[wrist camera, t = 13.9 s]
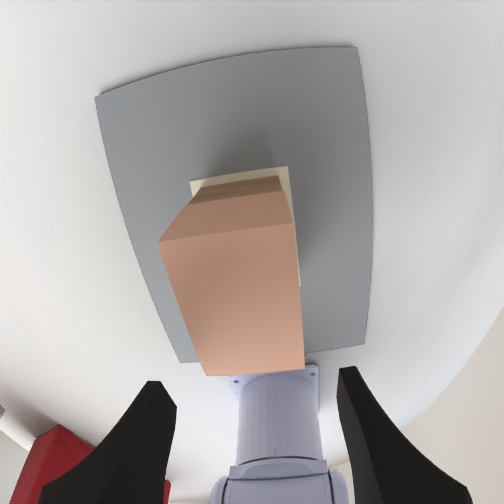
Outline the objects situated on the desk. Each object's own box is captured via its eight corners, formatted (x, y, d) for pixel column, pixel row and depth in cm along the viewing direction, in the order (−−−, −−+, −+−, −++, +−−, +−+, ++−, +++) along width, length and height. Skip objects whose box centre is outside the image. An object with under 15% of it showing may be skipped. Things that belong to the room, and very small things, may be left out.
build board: (362, 339, 23) (364, 344, 22) (181, 357, 25) (179, 363, 24) (353, 49, 13) (357, 46, 13) (98, 97, 15) (93, 97, 14)
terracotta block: (297, 314, 16) (305, 368, 12) (216, 322, 16) (206, 376, 13) (284, 190, 13) (293, 222, 9) (184, 205, 13) (157, 242, 10)
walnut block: (291, 278, 20) (297, 316, 16) (224, 286, 20) (216, 324, 16) (278, 175, 16) (283, 193, 13) (200, 187, 17) (184, 209, 13)
